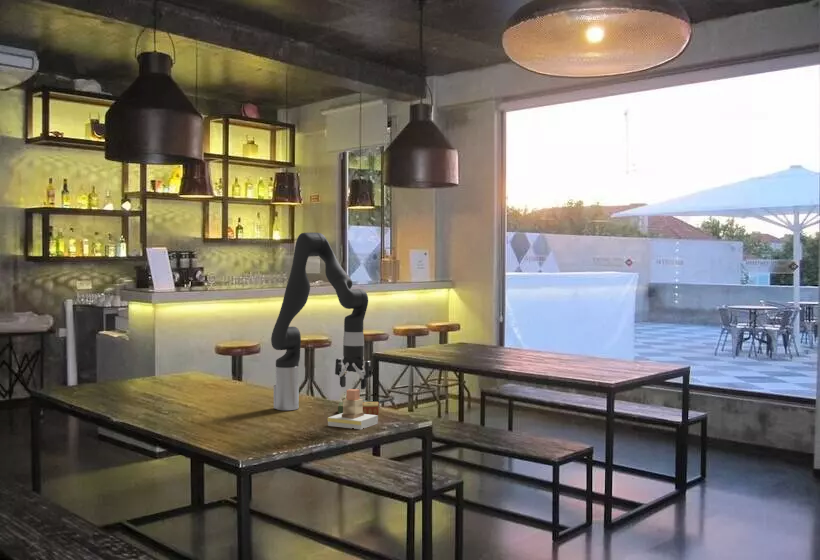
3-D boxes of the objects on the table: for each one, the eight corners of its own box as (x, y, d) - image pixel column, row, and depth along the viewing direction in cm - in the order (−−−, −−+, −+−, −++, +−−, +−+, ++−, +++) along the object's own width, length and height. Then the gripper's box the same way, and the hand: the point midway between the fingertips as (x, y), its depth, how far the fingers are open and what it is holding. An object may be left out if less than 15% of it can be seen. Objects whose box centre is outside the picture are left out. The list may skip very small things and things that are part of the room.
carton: (378, 415, 301) (378, 404, 301) (337, 416, 301) (337, 405, 301) (378, 411, 310) (378, 401, 309) (338, 412, 309) (338, 401, 309)
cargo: (346, 399, 282) (346, 390, 282) (351, 398, 285) (351, 388, 285) (354, 400, 280) (354, 390, 280) (359, 399, 284) (359, 389, 284)
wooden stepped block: (341, 417, 281) (341, 400, 281) (351, 414, 287) (351, 397, 287) (353, 418, 279) (353, 401, 278) (363, 415, 285) (363, 398, 285)
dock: (327, 425, 281) (327, 417, 281) (345, 419, 291) (345, 411, 291) (360, 429, 274) (360, 421, 274) (377, 423, 285) (377, 415, 285)
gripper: (331, 343, 282) (331, 387, 283) (365, 346, 276) (364, 391, 276) (342, 341, 289) (342, 384, 289) (375, 344, 282) (375, 388, 283)
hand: (353, 388), depth 283 cm, fingers open, 8 cm apart
